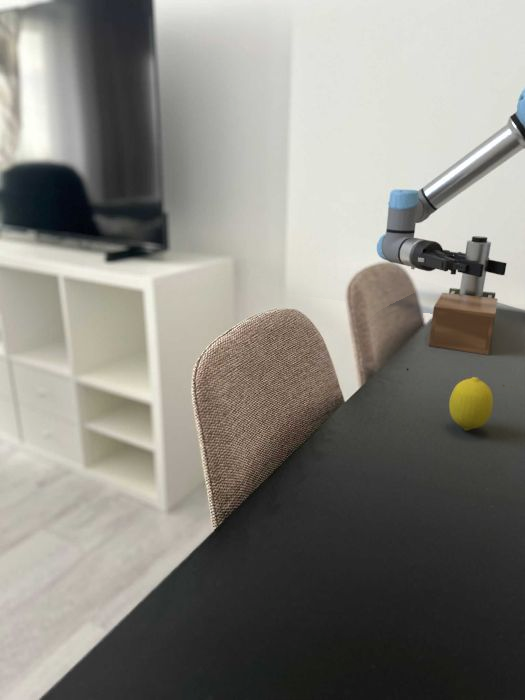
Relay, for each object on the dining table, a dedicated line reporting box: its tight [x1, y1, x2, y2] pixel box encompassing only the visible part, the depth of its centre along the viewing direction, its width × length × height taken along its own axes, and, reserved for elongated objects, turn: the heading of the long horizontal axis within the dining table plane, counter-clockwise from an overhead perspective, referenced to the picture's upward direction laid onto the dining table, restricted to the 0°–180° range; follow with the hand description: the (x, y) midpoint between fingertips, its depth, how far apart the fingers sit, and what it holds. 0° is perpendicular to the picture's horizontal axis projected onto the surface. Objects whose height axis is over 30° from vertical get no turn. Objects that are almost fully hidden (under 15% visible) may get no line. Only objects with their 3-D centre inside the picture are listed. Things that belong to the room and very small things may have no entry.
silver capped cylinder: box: [459, 235, 492, 297], centre depth 118 cm, size 5×5×19 cm
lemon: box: [448, 376, 494, 432], centre depth 71 cm, size 6×6×8 cm
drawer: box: [448, 287, 497, 298], centre depth 120 cm, size 15×10×7 cm
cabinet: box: [428, 292, 498, 356], centre depth 110 cm, size 15×12×9 cm
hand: (492, 269), depth 112 cm, fingers open, 6 cm apart
